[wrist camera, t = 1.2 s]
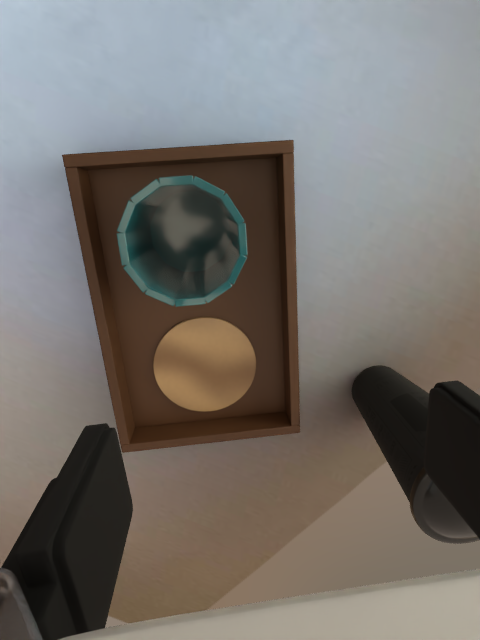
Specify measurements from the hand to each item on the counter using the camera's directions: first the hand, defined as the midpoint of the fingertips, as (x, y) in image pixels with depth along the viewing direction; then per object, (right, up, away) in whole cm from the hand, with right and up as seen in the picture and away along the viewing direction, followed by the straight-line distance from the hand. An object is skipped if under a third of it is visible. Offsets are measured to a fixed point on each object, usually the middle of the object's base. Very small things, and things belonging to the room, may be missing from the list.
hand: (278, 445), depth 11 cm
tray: (-5, +5, +20) cm, 22 cm away
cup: (-5, +11, +18) cm, 21 cm away
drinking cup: (+12, -3, +25) cm, 28 cm away
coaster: (-4, 0, +21) cm, 22 cm away
